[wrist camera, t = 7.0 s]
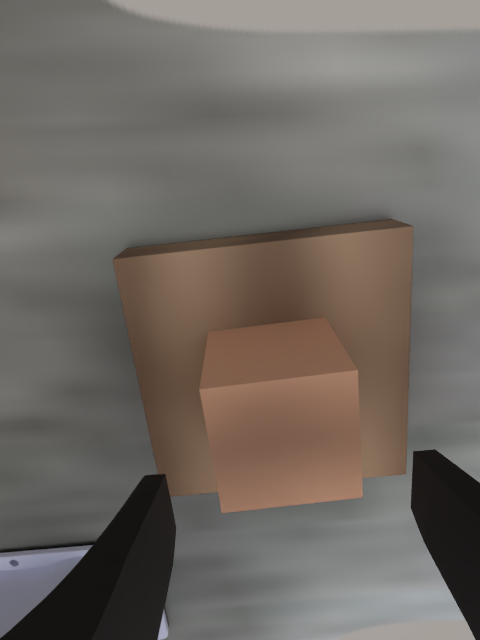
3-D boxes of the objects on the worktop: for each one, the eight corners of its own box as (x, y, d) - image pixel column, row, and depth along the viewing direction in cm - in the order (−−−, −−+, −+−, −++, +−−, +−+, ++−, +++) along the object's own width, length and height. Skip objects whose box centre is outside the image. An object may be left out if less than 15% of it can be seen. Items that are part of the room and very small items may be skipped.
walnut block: (171, 458, 24) (162, 497, 21) (129, 246, 20) (112, 259, 17) (385, 437, 24) (405, 474, 21) (387, 217, 19) (413, 226, 17)
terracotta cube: (224, 431, 20) (221, 513, 15) (208, 331, 18) (199, 389, 13) (331, 418, 20) (362, 497, 15) (325, 317, 18) (357, 370, 13)
